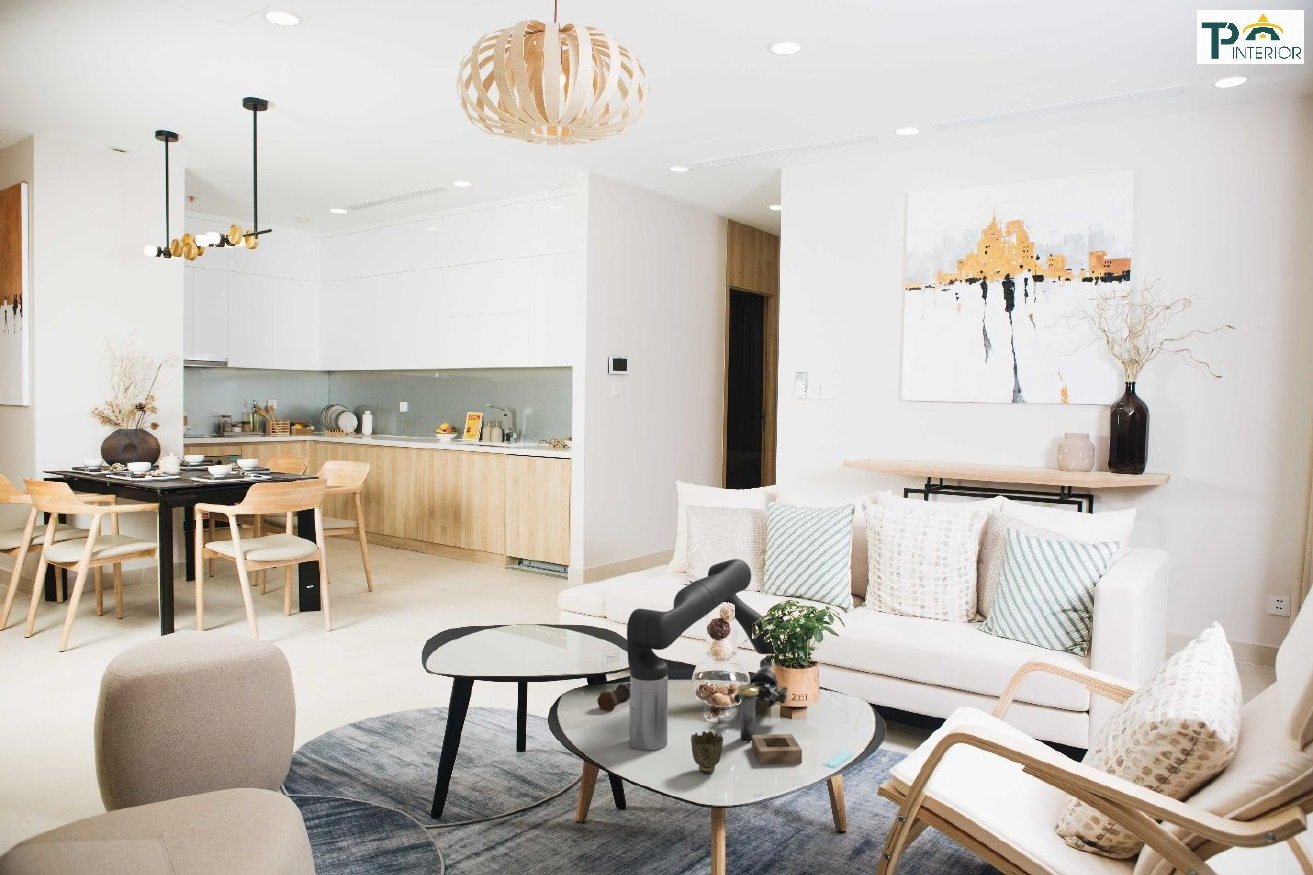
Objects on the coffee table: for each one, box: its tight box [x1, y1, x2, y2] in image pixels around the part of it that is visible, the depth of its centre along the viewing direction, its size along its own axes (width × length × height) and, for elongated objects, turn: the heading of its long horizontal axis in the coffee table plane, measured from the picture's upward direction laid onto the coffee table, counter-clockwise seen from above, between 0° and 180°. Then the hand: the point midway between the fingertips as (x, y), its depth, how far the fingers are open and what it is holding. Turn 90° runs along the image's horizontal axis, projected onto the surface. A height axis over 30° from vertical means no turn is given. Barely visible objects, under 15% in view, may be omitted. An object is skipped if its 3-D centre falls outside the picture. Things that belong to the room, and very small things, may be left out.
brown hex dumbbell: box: [596, 682, 630, 712], centre depth 248 cm, size 6×5×15 cm
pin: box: [738, 684, 759, 743], centre depth 221 cm, size 5×5×13 cm
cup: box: [690, 730, 724, 774], centre depth 202 cm, size 8×7×8 cm
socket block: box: [751, 733, 803, 765], centre depth 212 cm, size 10×10×3 cm
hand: (753, 701), depth 228 cm, fingers open, 8 cm apart
